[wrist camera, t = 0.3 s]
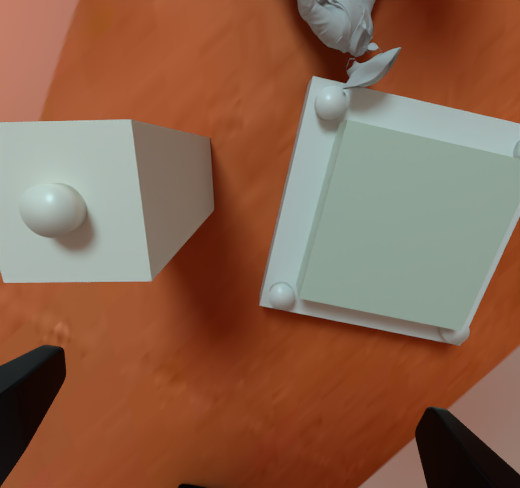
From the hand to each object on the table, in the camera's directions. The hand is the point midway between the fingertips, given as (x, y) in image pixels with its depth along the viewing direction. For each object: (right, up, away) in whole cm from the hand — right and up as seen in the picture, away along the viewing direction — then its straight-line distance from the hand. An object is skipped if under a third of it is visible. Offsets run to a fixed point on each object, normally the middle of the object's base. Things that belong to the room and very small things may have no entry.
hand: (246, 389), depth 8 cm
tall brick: (-5, +8, +13) cm, 16 cm away
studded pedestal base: (+9, +5, +13) cm, 17 cm away
